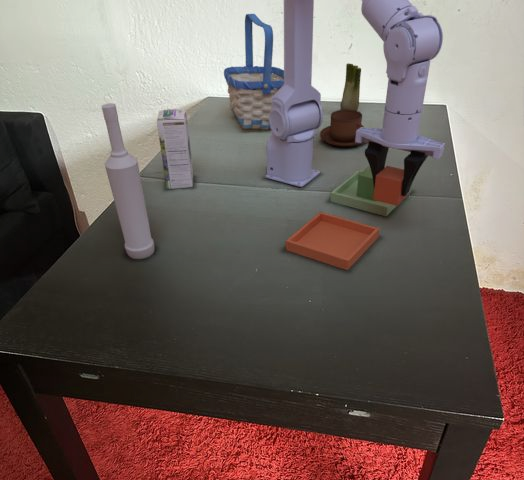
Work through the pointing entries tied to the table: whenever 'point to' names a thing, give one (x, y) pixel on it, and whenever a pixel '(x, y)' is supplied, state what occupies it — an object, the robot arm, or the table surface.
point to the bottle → (127, 190)
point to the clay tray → (333, 240)
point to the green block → (365, 184)
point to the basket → (254, 81)
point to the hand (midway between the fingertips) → (391, 190)
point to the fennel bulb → (351, 88)
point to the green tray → (348, 197)
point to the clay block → (389, 186)
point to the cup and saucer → (342, 128)
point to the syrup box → (175, 148)
